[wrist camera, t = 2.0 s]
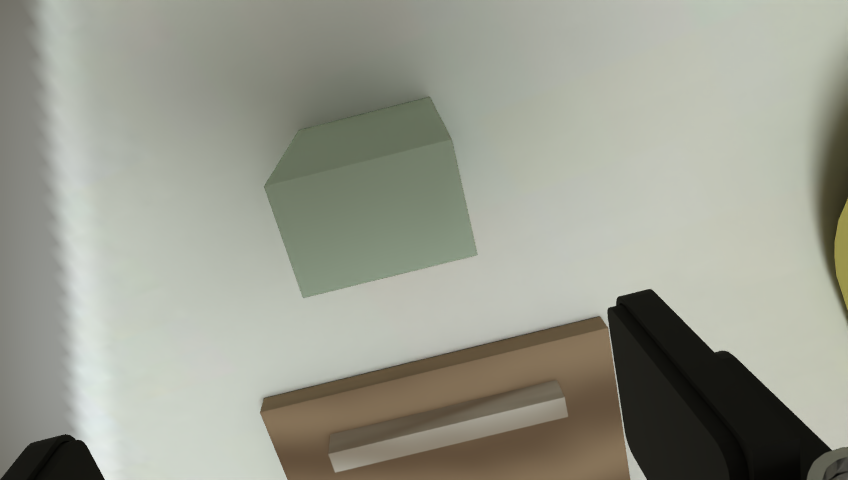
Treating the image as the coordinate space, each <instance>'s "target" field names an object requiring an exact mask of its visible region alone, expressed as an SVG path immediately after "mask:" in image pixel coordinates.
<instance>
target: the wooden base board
mask: <svg viewBox="0 0 848 480" xmlns="http://www.w3.org/2000/svg"><path fill="white" fill-rule="evenodd" d="M260 414H261V416H262V418H263V421H264V423H265V426H266V428H267V431H268V433H269V436H270V438H271V440H272V443H273V445H274V448H275V450H276V453H277V455H278V457H279V460H280V462H281V465H282V467H283V470H284V472H285V474H286V477H287V479H288V480H630V475H629V468H628V461H627V455H626V448H625V441H624V434H623V427H622V420H621V413H620V407H619V400H618V393H617V386H616V379H615V372H614V365H613V359H612V352H611V345H610V338H609V331H608V327H607V326H606V324H605V323H604V321H603V320H602V319H601V317H596V318H592V319H588V320H583V321H579V322H575V323H571V324H567V325H563V326H559V327H555V328H551V329H547V330H542V331H538V332H534V333H530V334H526V335H522V336H518V337H514V338H510V339H506V340H501V341H497V342H493V343H489V344H485V345H481V346H477V347H473V348H469V349H464V350H460V351H456V352H452V353H448V354H444V355H440V356H436V357H432V358H428V359H423V360H419V361H415V362H411V363H407V364H403V365H399V366H395V367H391V368H387V369H382V370H378V371H374V372H370V373H366V374H362V375H358V376H354V377H350V378H345V379H341V380H337V381H333V382H329V383H325V384H321V385H317V386H313V387H309V388H304V389H300V390H296V391H292V392H288V393H284V394H280V395H276V396H272V397H267V398H264V401H263V404H262V407H261V411H260Z"/></svg>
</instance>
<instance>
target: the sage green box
mask: <svg viewBox="0 0 848 480" xmlns="http://www.w3.org/2000/svg"><path fill="white" fill-rule="evenodd" d="M264 188H265V191H266V193H267V196H268V199H269V202H270V205H271V208H272V211H273V213H274V216H275V219H276V222H277V225H278V228H279V231H280V233H281V236H282V239H283V242H284V245H285V248H286V251H287V253H288V256H289V259H290V262H291V265H292V268H293V271H294V274H295V276H296V279H297V282H298V285H299V288H300V291H301V294H302V296H303V298H306V297H310V296H314V295H318V294H322V293H326V292H330V291H334V290H338V289H342V288H346V287H350V286H354V285H358V284H362V283H366V282H370V281H375V280H379V279H383V278H387V277H391V276H395V275H399V274H403V273H407V272H411V271H415V270H419V269H423V268H427V267H431V266H435V265H439V264H443V263H447V262H452V261H456V260H460V259H464V258H468V257H472V256H476V255H478V254H477V250H476V246H475V241H474V237H473V232H472V228H471V223H470V219H469V214H468V210H467V205H466V201H465V197H464V192H463V188H462V183H461V179H460V174H459V170H458V165H457V161H456V157H455V152H454V148H453V143H452V139H451V137H450V135H449V133H448V131H447V129H446V127H445V126H444V124H443V122H442V120H441V118H440V116H439V114H438V112H437V110H436V108H435V106H434V104H433V102H432V100H431V98H430V97H428V98H424V99H420V100H416V101H412V102H408V103H404V104H400V105H396V106H392V107H388V108H384V109H380V110H376V111H372V112H368V113H365V114H361V115H357V116H353V117H349V118H345V119H341V120H337V121H333V122H329V123H325V124H321V125H317V126H313V127H309V128H305V129H301V130H299V131H298V133H297V134H296V136H295V137H294V139H293V141H292V142H291V144H290V145H289V147H288V149H287V150H286V152H285V154H284V155H283V157H282V158H281V160H280V162H279V163H278V165H277V166H276V168H275V170H274V171H273V173H272V174H271V176H270V178H269V179H268V181H267V183H266V184H265V186H264Z"/></svg>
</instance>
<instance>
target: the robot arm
mask: <svg viewBox="0 0 848 480" xmlns="http://www.w3.org/2000/svg"><path fill="white" fill-rule="evenodd" d="M607 313H608V322H609V328H610V335H611V342H612V348H613V355H614V362H615V368H616V375H617V382H618V388H619V395H620V402H621V408H622V415H623V422H624V428H625V434H626V438H627V442H628V445H629V448H630V450H631V452H632V454H633V456H634V458H635V460H636V461H637V463H638V465H639V467H640V468H641V470H642V472H643V473H644V475H645V477H646V479H647V480H848V447H842V448H839V449H836V450H833V451H832V450H831V449H830V448H829V447H828V446H827V445H826V444H825V443H824V442H823V441H822V440H821V439H820V438H819V437H818V436H817V435H816V434H815V433H813V432H812V431H811V430H810V429H809V428H808V427H807V426H806V425H805V424H804V423H803V422H802V421H801V420H800V419H799V418H798V417H797V416H796V415H795V414H794V413H793V412H792V411H791V410H790V409H789V408H788V407H786V406H785V405H784V404H783V403H782V402H781V401H780V400H779V399H778V398H777V397H776V396H775V395H774V394H773V393H772V392H771V391H770V390H769V389H768V388H767V387H766V386H765V385H764V384H763V383H762V382H761V381H760V380H758V379H757V378H756V377H755V376H754V375H753V374H752V373H751V372H750V371H749V370H748V369H747V368H746V367H745V366H744V365H743V364H742V363H741V362H740V361H739V360H738V359H737V358H736V357H735V356H733V355H732V354H731V353H729V352H727V351H719V352H715V353H714V352H713V351H712V350H711V349H710V348H709V347H708V346H707V345H706V343H705V342H704V341H703V340H702V339H701V338H700V337H699V336H698V335H697V334H696V333H695V332H694V331H693V330H692V329H691V328H690V327H689V326H688V325H687V324H686V323H685V322H684V321H683V320H682V319H681V318H680V317H679V316H678V315H677V314H676V313H675V312H674V311H673V310H672V309H671V308H670V307H669V306H668V305H667V304H666V303H665V302H664V301H663V300H662V299H661V298H660V297H659V296H658V295H657V294H656V293H655V292H654V291H653V290H651V289H648V290H644V291H640V292H635V293H631V294H627V295H623V296H619V297H618V298H617V301H616V306H614V307H610V308H608V312H607ZM0 480H105V479H104V477H103V475H102V474H101V472H100V470H99V468H98V466H97V464H96V462H95V461H94V459H93V457H92V455H91V453H90V451H89V449H88V448H87V446H86V445H85V443H84V442H82V441H81V440H75V438H73V437H72V436H70V435H66V434H65V435H61V436H57V437H53V438H49V439H45V440H41V441H37V442H34V443H31V444H29V445H28V446H27V447H26V448H25V450H24V451H23V452H22V453H21V454H20V456H19V457H18V458H17V459H16V461H15V462H14V463H13V465H12V466H11V467H10V468H9V469H8V471H7V472H6V473H5V475H4V476H3V477H2V478H1V479H0Z"/></svg>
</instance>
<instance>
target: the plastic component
mask: <svg viewBox="0 0 848 480" xmlns="http://www.w3.org/2000/svg"><path fill="white" fill-rule="evenodd" d="M834 257H835V267H836V276H837V279H838V282H839V285H840V288H841V291H842V294H843V297H844V301H845V304H846V307H847V310H848V199H847V202H846V204H845V206H844V209H843V211H842V213H841V216H840V218H839V220H838V226H837V231H836V237H835V254H834Z"/></svg>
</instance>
